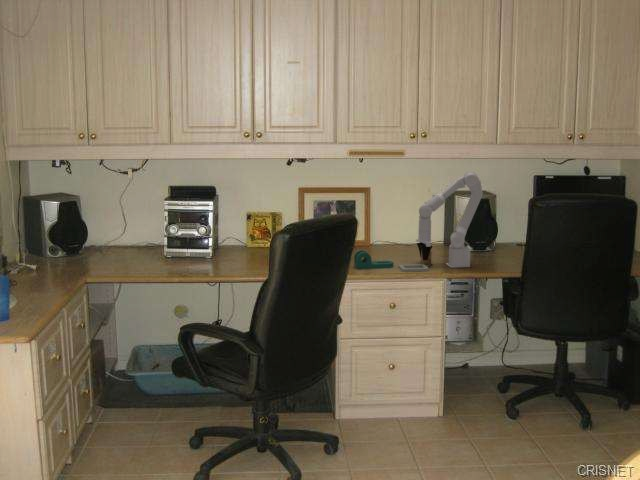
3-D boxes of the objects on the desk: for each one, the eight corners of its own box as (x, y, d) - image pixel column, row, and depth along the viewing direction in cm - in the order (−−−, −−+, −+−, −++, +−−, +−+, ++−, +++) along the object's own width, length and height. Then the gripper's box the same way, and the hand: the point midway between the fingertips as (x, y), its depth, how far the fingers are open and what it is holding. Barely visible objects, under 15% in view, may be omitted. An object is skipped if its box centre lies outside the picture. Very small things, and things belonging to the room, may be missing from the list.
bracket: (356, 269, 318) (357, 253, 317) (354, 266, 325) (354, 250, 324) (395, 268, 321) (395, 251, 320) (391, 265, 328) (391, 248, 326)
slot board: (423, 266, 323) (423, 264, 323) (428, 271, 314) (429, 268, 314) (398, 267, 322) (398, 264, 322) (402, 271, 313) (403, 269, 313)
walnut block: (428, 262, 329) (429, 250, 328) (431, 264, 325) (431, 251, 324) (420, 262, 328) (421, 250, 327) (422, 264, 324) (423, 251, 323)
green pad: (428, 263, 330) (428, 262, 330) (431, 266, 324) (431, 265, 324) (416, 263, 329) (416, 262, 329) (419, 266, 323) (419, 265, 323)
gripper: (412, 227, 330) (412, 255, 333) (420, 233, 316) (419, 262, 319) (427, 227, 331) (426, 255, 334) (435, 232, 317) (434, 261, 319)
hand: (424, 258), depth 326 cm, fingers closed on walnut block, 4 cm apart
